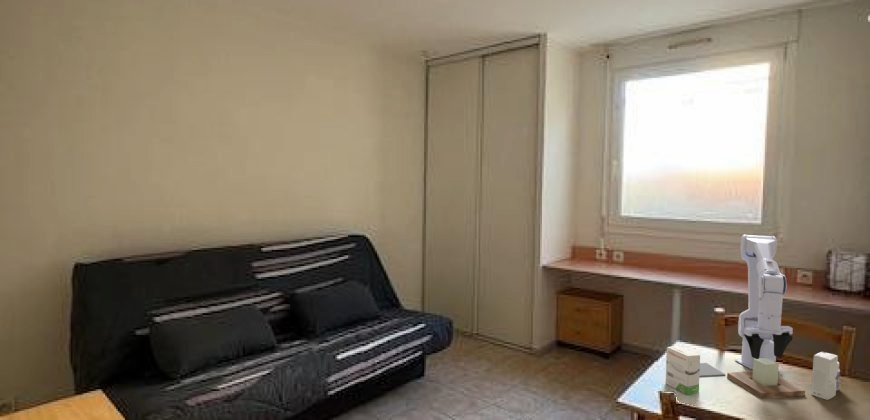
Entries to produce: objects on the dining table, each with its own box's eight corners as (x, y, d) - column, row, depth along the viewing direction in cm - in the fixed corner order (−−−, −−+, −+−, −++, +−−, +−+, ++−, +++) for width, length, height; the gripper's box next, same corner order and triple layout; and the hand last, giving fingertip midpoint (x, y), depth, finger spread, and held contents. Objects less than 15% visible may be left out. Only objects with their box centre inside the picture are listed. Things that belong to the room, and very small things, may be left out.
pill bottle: (833, 392, 147) (836, 365, 146) (815, 386, 151) (817, 359, 150) (841, 389, 149) (844, 362, 148) (823, 382, 153) (825, 356, 152)
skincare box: (828, 400, 142) (831, 360, 141) (809, 394, 146) (813, 354, 144) (836, 395, 145) (839, 355, 144) (818, 389, 149) (821, 350, 148)
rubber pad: (706, 364, 167) (706, 362, 167) (725, 375, 158) (725, 374, 158) (681, 365, 166) (681, 364, 166) (699, 376, 157) (699, 375, 157)
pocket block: (766, 375, 158) (767, 370, 158) (804, 395, 145) (805, 390, 144) (727, 377, 157) (727, 372, 156) (761, 398, 143) (761, 393, 143)
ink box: (699, 393, 146) (702, 354, 145) (686, 395, 144) (689, 356, 143) (676, 380, 154) (678, 344, 153) (664, 383, 152) (666, 346, 151)
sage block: (765, 382, 153) (767, 358, 152) (776, 389, 149) (778, 363, 148) (752, 383, 153) (753, 358, 152) (763, 390, 148) (765, 364, 147)
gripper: (758, 318, 143) (754, 363, 145) (802, 317, 145) (799, 361, 147) (740, 311, 150) (737, 354, 152) (783, 309, 152) (779, 352, 154)
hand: (766, 357), depth 150 cm, fingers open, 7 cm apart
